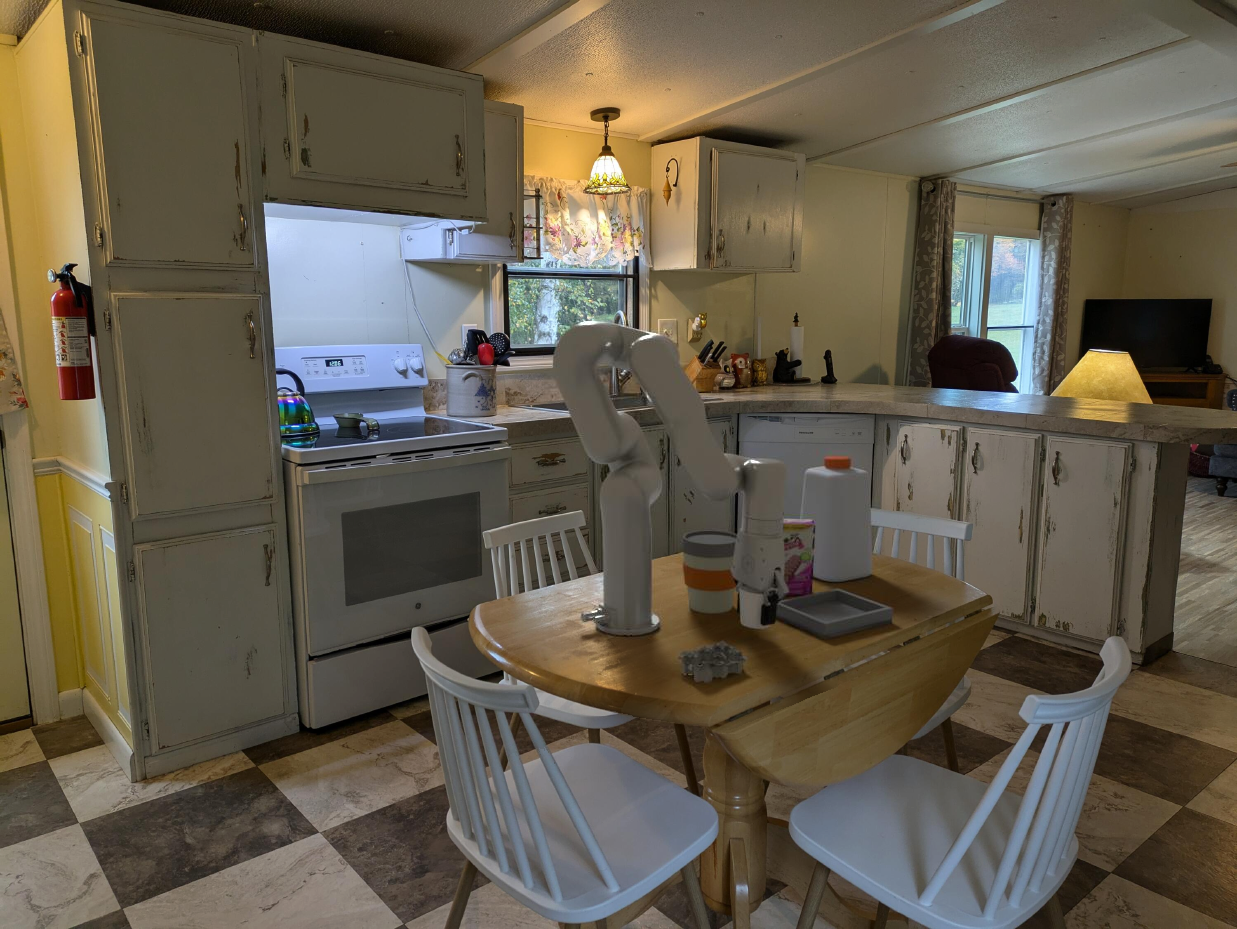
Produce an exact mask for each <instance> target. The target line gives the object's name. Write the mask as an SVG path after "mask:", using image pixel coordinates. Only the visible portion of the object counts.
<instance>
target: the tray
mask: <svg viewBox="0 0 1237 929" xmlns="http://www.w3.org/2000/svg"><path fill="white" fill-rule="evenodd" d="M893 612H894V608H893V607H891V606H889V605H885V604H882V603H880V602H877V601H874V600H871V599H868V598H867V597H863V596H860V595H858V594H854V593H852V592H849V591H846V590H843V589H840V588H833V589H830V590H824V591H819V592H814V593H812V594H809V595H804V596H800V595H798V596H796V597H790V598H786V599H782V600H781V601H780V603H779V604H777V611H776V620H779V621H781V622H785V623H786V624H788V625H791V626H794V627H796V628H798V629H800V630H803V631H805V632H807V633H809V634H812V635H814V636H817V637H819V638H821V639H822V640H827V639H831V638H836V637H840V636H844V635H848V634H852V633H856V632H859V631H864V630H868V629H872V628H877V627H881V626H884V625H888V624H891V623H893V614H894V613H893Z"/></svg>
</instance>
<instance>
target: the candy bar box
mask: <svg viewBox="0 0 1237 929" xmlns="http://www.w3.org/2000/svg"><path fill="white" fill-rule="evenodd" d="M782 536H783V541H784V555H785V567H784V581H785V583H786V585H787V587H788V589H789V593H788V594H787V595H786V596H804V595H809V594H813V583H814V577H813V565H814V542H815V523H814V521H813V520H810V519H800V518H783V530H782ZM777 589H778V588H777Z"/></svg>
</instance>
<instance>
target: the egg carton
mask: <svg viewBox="0 0 1237 929" xmlns="http://www.w3.org/2000/svg"><path fill="white" fill-rule="evenodd" d="M746 659H748V655H745V656H744V655H743V654H742V651H741V650H737V649H736V648H734V647H733V646H732V645H728V644H727V643H726V642H725V641H724V640H720V641H719V642H718V643H715V644H713V645H708V647H707V646H706V645H704V646H702V647H701V648H696V649H694V650H683V651H681V653H680V654H679V655H678V657H677V660H679V661H680V660H681V674H682V673H683V674H686V676H688V675H687V674H692V675H694V676H693V681H694V680H696V681H697V682H696V681H695V682H696V683H700V682H699V681H704V682H703V683H706V682H709V683H712V682H713V679H714V678H713V677H715V678H719V677H721V679H726V678H727V677H728V674H737V673H738V674H742V673H743V669H744V663H746ZM699 664H701V665H699ZM727 673H728V674H727ZM683 674H682V675H683ZM738 674H737V675H738ZM692 675H691V676H692ZM726 676H727V677H726ZM711 681H712V682H711Z"/></svg>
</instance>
